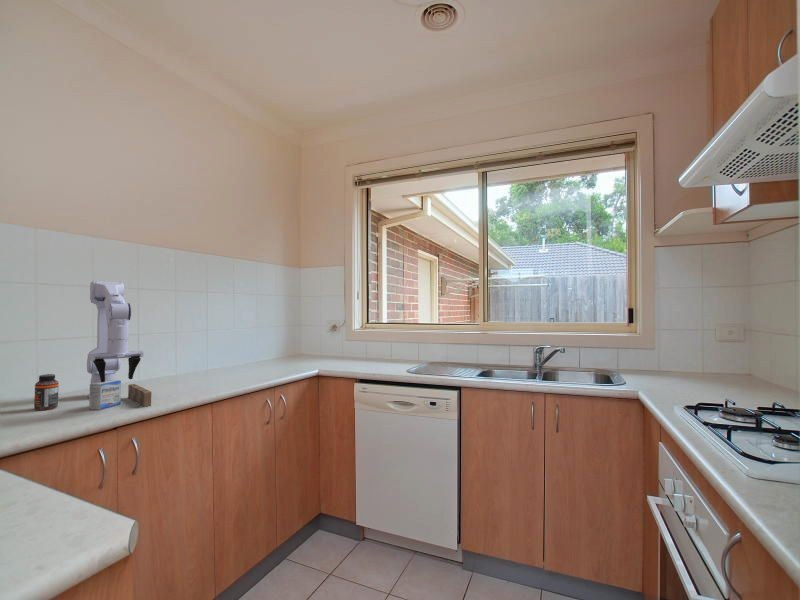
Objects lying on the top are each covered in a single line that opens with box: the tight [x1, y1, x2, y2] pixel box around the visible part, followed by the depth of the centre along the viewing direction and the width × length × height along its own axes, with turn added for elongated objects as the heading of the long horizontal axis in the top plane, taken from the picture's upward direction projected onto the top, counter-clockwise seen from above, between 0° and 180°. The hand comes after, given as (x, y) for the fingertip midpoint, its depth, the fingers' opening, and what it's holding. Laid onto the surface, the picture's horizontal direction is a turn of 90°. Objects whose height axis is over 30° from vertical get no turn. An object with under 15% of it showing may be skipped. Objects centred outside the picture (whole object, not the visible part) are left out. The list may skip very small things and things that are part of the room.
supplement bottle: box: [33, 373, 60, 411], centre depth 132 cm, size 6×6×11 cm
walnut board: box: [127, 383, 152, 408], centre depth 142 cm, size 20×2×5 cm, turn 48°
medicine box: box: [88, 379, 122, 411], centre depth 135 cm, size 8×4×9 cm, turn 168°
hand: (116, 380), depth 130 cm, fingers open, 7 cm apart
